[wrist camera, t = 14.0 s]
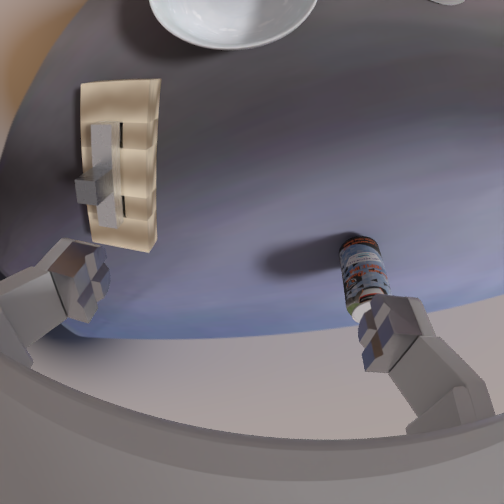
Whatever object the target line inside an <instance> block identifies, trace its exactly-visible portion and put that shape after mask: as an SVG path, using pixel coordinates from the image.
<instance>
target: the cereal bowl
mask: <svg viewBox="0 0 504 504" xmlns="http://www.w3.org/2000/svg"><path fill="white" fill-rule="evenodd" d="M316 2H317V0H149V3H150V7H151V9H152V12H153V14H154V15H155V17H156V19H157V20H158V21H159V23H160V24H161V25H162V26H163V27H164V28H165V29H166V30H167V31H169V32H170V33H172V34H173V35H174V36H176V37H178V38H180V39H181V40H183V41H186V42H188V43H190V44H193V45H196V46H200V47H204V48H209V49H215V50H245V49H251V48H256V47H260V46H263V45H267V44H269V43H272V42H275V41H276V40H279V39H280V38H283V37H284V36H286V35H288V34H289V33H291V32H292V31H293V30H295V29H296V28H297V27H299V26H300V24H302V23H303V21H304V20H305V19H306V18H307V17H308V16H309V14H310V13H311V11H312V10H313V8H314V7H315V5H316Z"/></svg>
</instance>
